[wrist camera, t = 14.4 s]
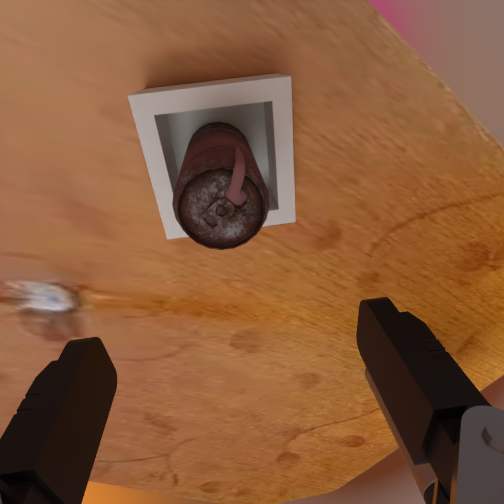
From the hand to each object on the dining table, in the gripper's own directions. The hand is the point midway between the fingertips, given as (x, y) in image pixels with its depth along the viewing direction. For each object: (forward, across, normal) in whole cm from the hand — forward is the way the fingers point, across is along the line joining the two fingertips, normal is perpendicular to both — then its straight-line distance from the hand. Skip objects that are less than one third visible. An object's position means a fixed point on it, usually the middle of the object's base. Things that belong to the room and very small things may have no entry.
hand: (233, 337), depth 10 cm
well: (+26, 0, 0) cm, 26 cm away
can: (+25, 0, 0) cm, 25 cm away
